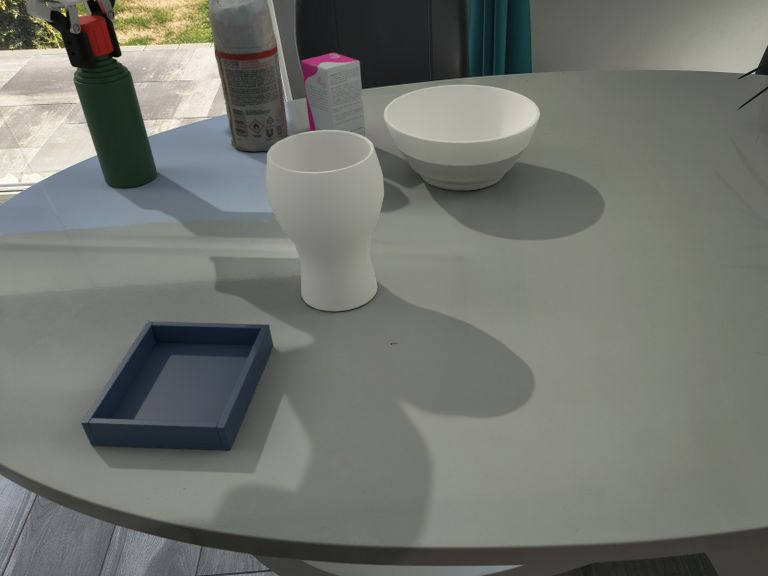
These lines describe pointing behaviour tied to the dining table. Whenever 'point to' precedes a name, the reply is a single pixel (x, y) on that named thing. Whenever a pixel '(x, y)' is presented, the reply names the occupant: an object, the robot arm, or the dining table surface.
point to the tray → (181, 387)
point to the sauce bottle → (115, 123)
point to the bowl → (461, 133)
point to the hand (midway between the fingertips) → (97, 60)
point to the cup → (328, 212)
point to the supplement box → (334, 93)
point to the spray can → (249, 72)
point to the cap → (96, 34)
